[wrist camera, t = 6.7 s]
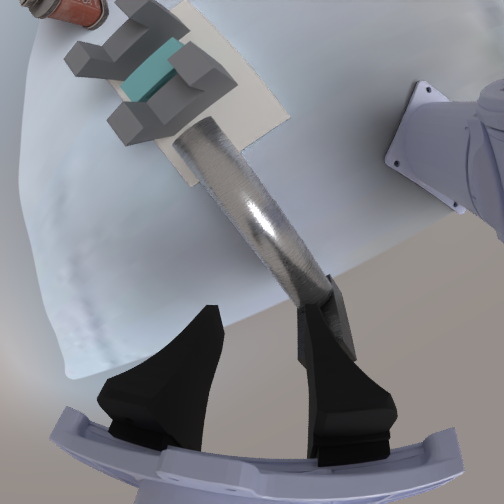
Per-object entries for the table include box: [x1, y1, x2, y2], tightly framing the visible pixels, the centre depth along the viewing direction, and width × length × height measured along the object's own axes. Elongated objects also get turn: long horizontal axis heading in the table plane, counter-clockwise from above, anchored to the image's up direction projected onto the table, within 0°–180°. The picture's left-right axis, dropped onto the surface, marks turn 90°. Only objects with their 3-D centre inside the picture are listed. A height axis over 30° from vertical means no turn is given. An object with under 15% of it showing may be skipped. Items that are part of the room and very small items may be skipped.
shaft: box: [172, 116, 357, 368], centre depth 13 cm, size 14×2×6 cm, turn 36°
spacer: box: [120, 37, 184, 102], centre depth 14 cm, size 2×4×4 cm, turn 126°
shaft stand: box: [64, 0, 291, 188], centre depth 14 cm, size 13×9×8 cm
